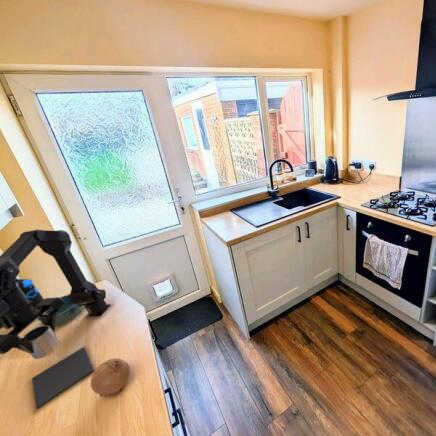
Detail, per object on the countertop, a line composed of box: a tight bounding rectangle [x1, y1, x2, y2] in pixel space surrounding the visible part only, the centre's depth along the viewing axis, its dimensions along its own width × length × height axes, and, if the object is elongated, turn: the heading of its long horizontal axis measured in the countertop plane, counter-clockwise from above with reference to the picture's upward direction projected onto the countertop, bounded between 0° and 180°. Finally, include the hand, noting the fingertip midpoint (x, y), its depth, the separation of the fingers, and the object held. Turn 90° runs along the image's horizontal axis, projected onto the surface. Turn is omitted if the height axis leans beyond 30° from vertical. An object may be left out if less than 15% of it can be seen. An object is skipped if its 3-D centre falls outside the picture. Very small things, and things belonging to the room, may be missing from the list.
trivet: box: [31, 346, 95, 410], centre depth 80 cm, size 14×14×1 cm
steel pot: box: [21, 325, 61, 360], centre depth 76 cm, size 7×7×7 cm
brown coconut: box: [90, 357, 131, 397], centre depth 73 cm, size 10×9×10 cm
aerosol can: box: [16, 276, 45, 310], centre depth 104 cm, size 8×8×20 cm
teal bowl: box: [37, 294, 85, 328], centre depth 105 cm, size 14×14×6 cm
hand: (42, 342), depth 77 cm, fingers closed on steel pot, 6 cm apart
